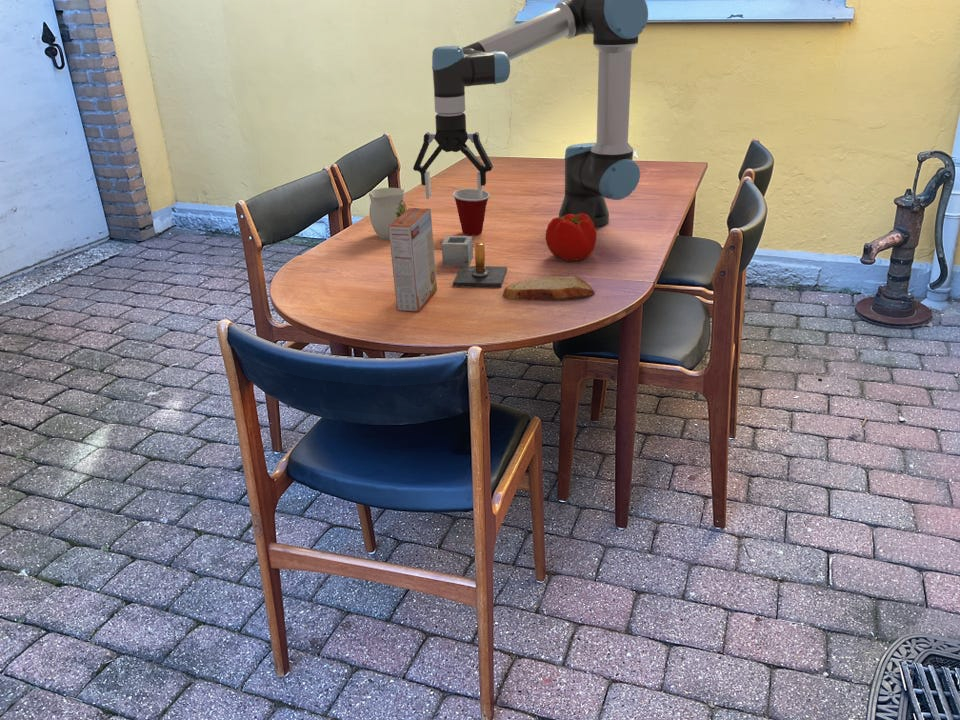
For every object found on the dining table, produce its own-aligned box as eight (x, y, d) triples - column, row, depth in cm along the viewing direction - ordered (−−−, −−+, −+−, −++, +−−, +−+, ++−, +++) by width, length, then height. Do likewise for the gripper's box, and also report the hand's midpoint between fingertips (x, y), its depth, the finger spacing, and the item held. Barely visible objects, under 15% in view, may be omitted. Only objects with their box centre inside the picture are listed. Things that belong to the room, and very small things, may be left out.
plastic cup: (479, 240, 233) (478, 199, 227) (447, 235, 238) (445, 195, 232) (497, 229, 241) (496, 190, 236) (466, 225, 246) (464, 186, 241)
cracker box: (414, 289, 200) (408, 206, 191) (438, 291, 199) (432, 207, 189) (394, 311, 188) (386, 224, 179) (419, 313, 187) (412, 225, 177)
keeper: (507, 270, 210) (506, 236, 206) (501, 287, 199) (500, 252, 195) (461, 269, 212) (459, 236, 208) (453, 286, 201) (451, 251, 197)
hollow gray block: (473, 257, 220) (472, 236, 217) (468, 266, 214) (467, 244, 211) (447, 256, 221) (446, 235, 218) (442, 265, 215) (441, 244, 212)
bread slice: (496, 296, 195) (495, 282, 193) (545, 276, 206) (545, 262, 204) (552, 316, 183) (552, 300, 182) (601, 293, 194) (602, 278, 193)
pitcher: (419, 226, 246) (416, 182, 240) (397, 245, 231) (393, 198, 225) (386, 225, 250) (382, 180, 243) (362, 243, 234) (357, 196, 228)
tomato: (567, 269, 209) (568, 225, 203) (535, 255, 220) (535, 213, 214) (607, 259, 215) (609, 216, 210) (574, 245, 226) (575, 204, 220)
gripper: (502, 110, 201) (503, 194, 211) (404, 111, 205) (410, 193, 215) (498, 115, 195) (500, 202, 204) (397, 116, 199) (404, 201, 208)
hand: (454, 197), depth 210 cm, fingers open, 13 cm apart
